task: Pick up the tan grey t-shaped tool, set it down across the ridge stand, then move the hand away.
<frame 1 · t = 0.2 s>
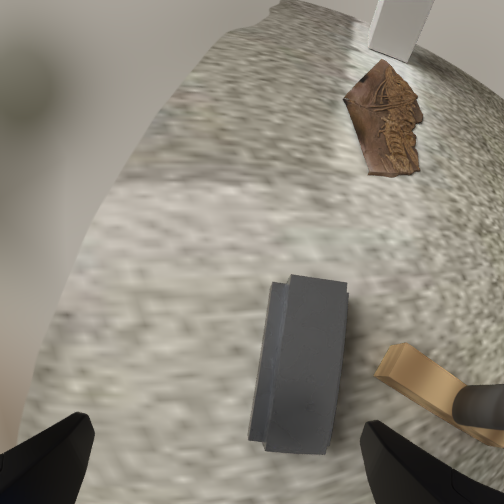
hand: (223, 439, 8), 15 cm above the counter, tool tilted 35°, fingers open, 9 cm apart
milk carton: (386, 48, 40), on the counter
ridge stand: (297, 366, 23), on the counter
tan grey t-shaped tool: (447, 403, 22), on the counter
wooden fragment: (383, 107, 34), on the counter
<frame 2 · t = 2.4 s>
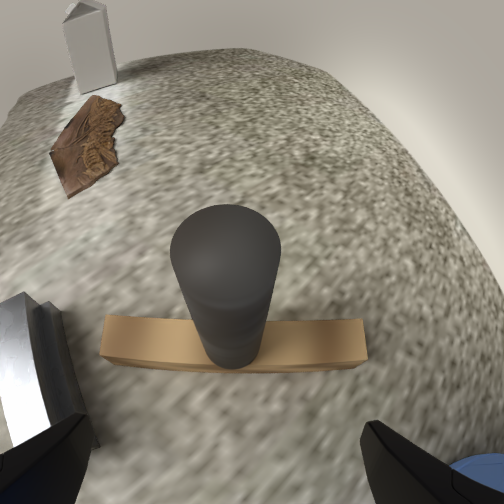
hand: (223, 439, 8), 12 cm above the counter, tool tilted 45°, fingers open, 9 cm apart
milk carton: (99, 83, 46), on the counter
ridge stand: (47, 385, 19), on the counter
tan grey t-shaped tool: (232, 353, 22), on the counter
wooden fragment: (88, 135, 37), on the counter
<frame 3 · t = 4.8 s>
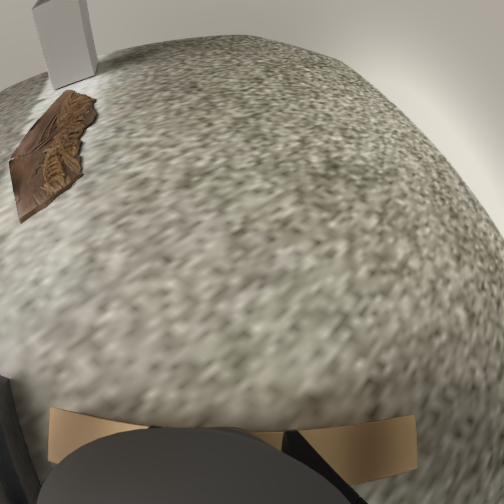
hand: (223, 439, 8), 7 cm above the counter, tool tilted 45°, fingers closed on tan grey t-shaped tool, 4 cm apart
milk carton: (77, 76, 37), on the counter
ridge stand: (4, 468, 10), on the counter
tan grey t-shaped tool: (230, 458, 13), on the counter, touching gripper
wooden fragment: (54, 138, 28), on the counter
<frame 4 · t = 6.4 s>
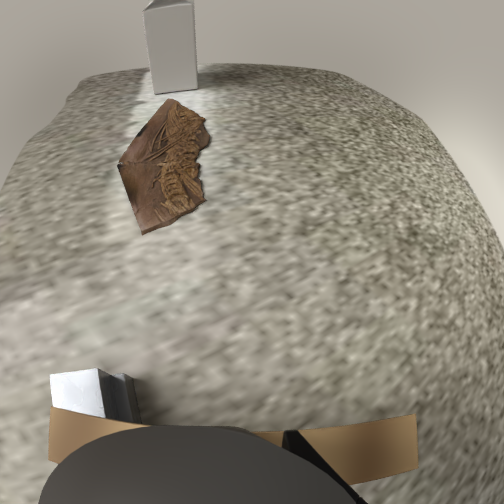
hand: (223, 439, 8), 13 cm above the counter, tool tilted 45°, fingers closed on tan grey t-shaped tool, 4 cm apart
milk carton: (176, 84, 45), on the counter
ridge stand: (113, 455, 17), on the counter
tan grey t-shaped tool: (231, 457, 13), point 6 cm above the counter, touching gripper
wooden fragment: (164, 151, 36), on the counter
when the fingers open (12 cm above the counter, at t = 8.3 s): tan grey t-shaped tool stays where it is, resting on ridge stand.
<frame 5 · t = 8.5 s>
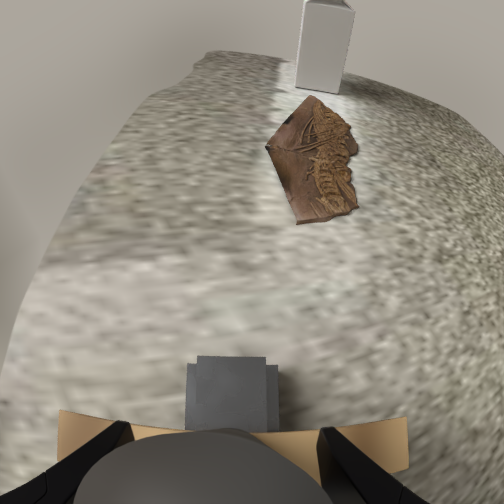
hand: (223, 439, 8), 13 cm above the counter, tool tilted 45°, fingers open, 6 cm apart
milk carton: (315, 83, 45), on the counter
ridge stand: (232, 450, 18), on the counter
tan grey t-shaped tool: (231, 457, 14), point 4 cm above the counter, touching ridge stand
wooden fragment: (312, 146, 36), on the counter
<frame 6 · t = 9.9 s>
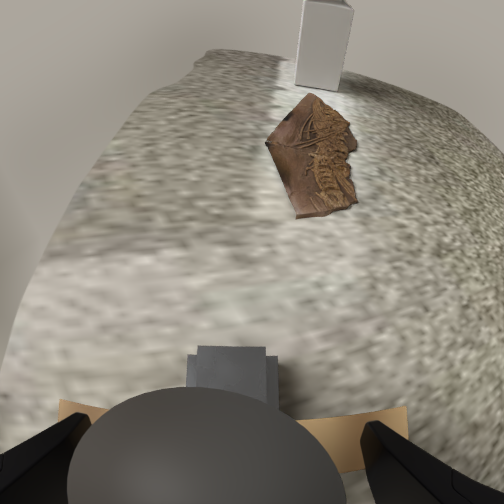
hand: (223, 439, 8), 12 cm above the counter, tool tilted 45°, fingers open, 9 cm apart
milk carton: (314, 81, 46), on the counter
ridge stand: (232, 442, 18), on the counter
tan grey t-shaped tool: (231, 447, 14), point 4 cm above the counter, touching ridge stand
wooden fragment: (312, 143, 36), on the counter
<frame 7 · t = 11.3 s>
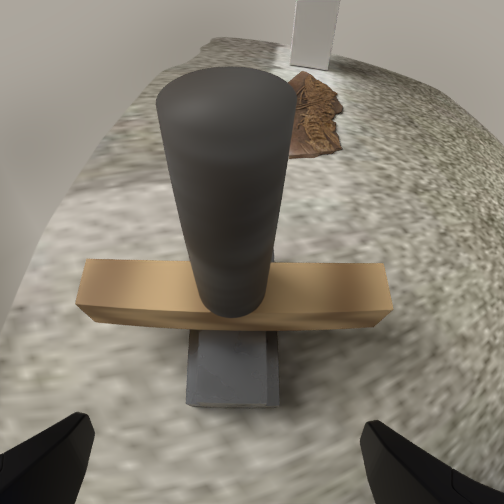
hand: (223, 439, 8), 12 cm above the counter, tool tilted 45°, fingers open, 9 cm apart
milk carton: (308, 62, 50), on the counter
ridge stand: (234, 329, 23), on the counter
tan grey t-shaped tool: (232, 307, 19), point 4 cm above the counter, touching ridge stand
wooden fragment: (303, 107, 40), on the counter
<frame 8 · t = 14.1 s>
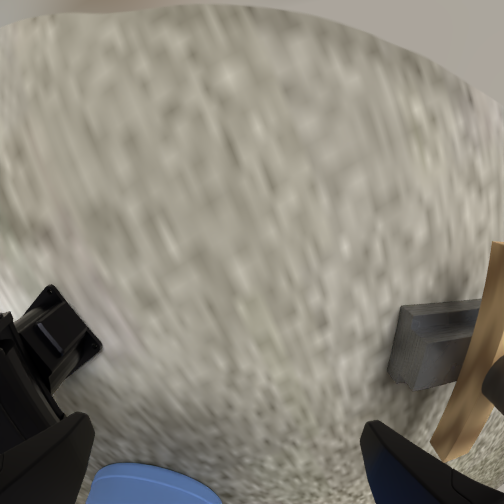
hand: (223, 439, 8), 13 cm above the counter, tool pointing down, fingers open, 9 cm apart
water jug: (158, 494, 26), on the counter
ridge stand: (449, 332, 22), on the counter
tan grey t-shaped tool: (477, 356, 18), point 4 cm above the counter, touching ridge stand
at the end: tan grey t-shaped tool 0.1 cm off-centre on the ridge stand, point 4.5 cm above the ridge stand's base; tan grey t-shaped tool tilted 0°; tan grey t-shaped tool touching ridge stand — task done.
